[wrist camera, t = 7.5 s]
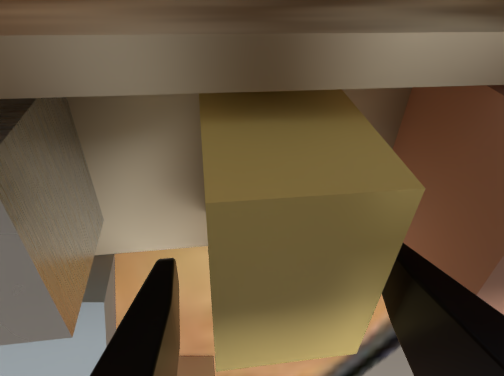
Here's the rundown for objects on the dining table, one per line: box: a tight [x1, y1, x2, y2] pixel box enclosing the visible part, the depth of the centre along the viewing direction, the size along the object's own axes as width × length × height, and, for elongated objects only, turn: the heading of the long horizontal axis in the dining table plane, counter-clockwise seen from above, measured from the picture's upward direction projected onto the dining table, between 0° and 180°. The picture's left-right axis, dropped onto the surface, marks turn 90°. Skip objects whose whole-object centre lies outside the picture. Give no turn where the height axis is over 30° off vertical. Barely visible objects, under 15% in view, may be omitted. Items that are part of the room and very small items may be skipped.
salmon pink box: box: [393, 85, 504, 315], centre depth 12 cm, size 3×7×6 cm, turn 178°
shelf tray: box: [0, 0, 504, 255], centre depth 12 cm, size 20×10×5 cm, turn 88°
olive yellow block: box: [199, 89, 426, 372], centre depth 11 cm, size 4×6×6 cm, turn 178°
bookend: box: [0, 97, 104, 346], centre depth 10 cm, size 3×6×5 cm, turn 178°
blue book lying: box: [0, 254, 116, 376], centre depth 17 cm, size 6×6×3 cm
